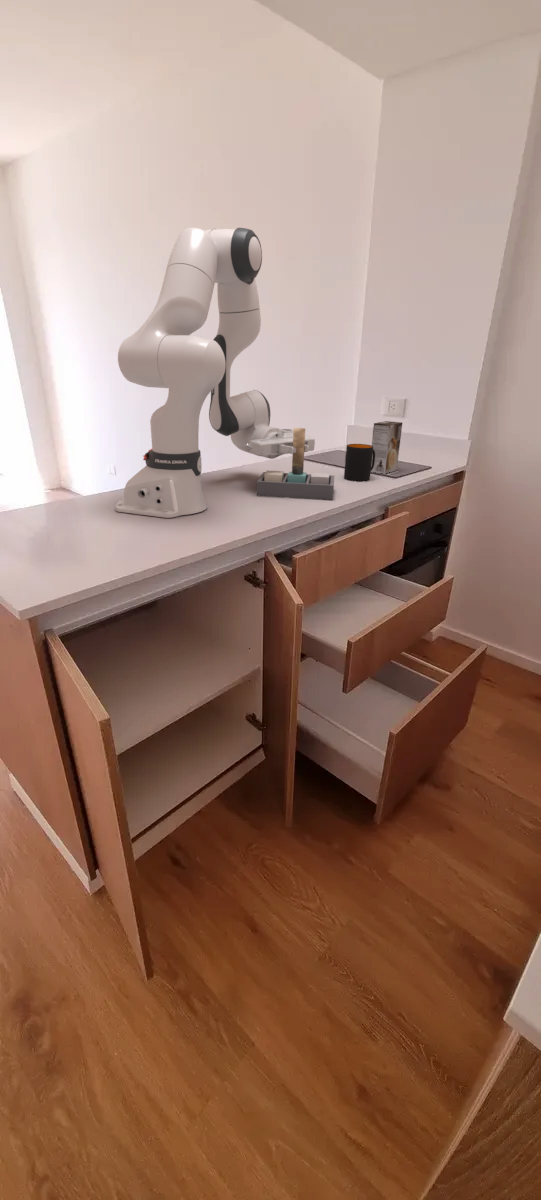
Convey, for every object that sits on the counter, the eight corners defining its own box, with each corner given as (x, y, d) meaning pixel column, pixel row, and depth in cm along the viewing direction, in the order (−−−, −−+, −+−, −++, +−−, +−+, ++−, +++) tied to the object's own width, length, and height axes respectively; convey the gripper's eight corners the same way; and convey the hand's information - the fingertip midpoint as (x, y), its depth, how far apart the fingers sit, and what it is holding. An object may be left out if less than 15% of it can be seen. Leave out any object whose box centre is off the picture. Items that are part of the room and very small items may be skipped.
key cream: (264, 484, 147) (264, 474, 145) (266, 480, 151) (266, 470, 150) (281, 485, 146) (282, 474, 145) (283, 481, 151) (284, 471, 149)
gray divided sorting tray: (256, 495, 144) (257, 481, 143) (263, 485, 156) (263, 471, 154) (332, 500, 142) (333, 485, 140) (333, 489, 154) (334, 475, 152)
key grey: (310, 487, 145) (310, 476, 144) (311, 483, 150) (311, 472, 149) (328, 488, 145) (328, 477, 144) (328, 484, 149) (329, 473, 148)
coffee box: (380, 468, 185) (385, 420, 178) (397, 470, 181) (403, 422, 174) (368, 472, 178) (373, 422, 171) (385, 474, 174) (391, 424, 168)
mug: (382, 478, 169) (386, 445, 165) (357, 482, 162) (361, 448, 158) (363, 473, 175) (366, 442, 171) (338, 478, 168) (341, 445, 164)
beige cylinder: (291, 473, 146) (293, 429, 140) (292, 471, 149) (294, 427, 143) (302, 474, 145) (304, 429, 140) (303, 472, 148) (305, 428, 143)
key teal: (287, 485, 146) (287, 475, 145) (288, 482, 151) (289, 471, 149) (304, 486, 146) (305, 476, 144) (306, 483, 150) (306, 472, 149)
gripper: (241, 434, 146) (271, 441, 136) (296, 429, 157) (328, 435, 148) (241, 457, 149) (270, 465, 139) (295, 450, 160) (326, 457, 150)
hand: (300, 449), depth 143 cm, fingers closed on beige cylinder, 3 cm apart
